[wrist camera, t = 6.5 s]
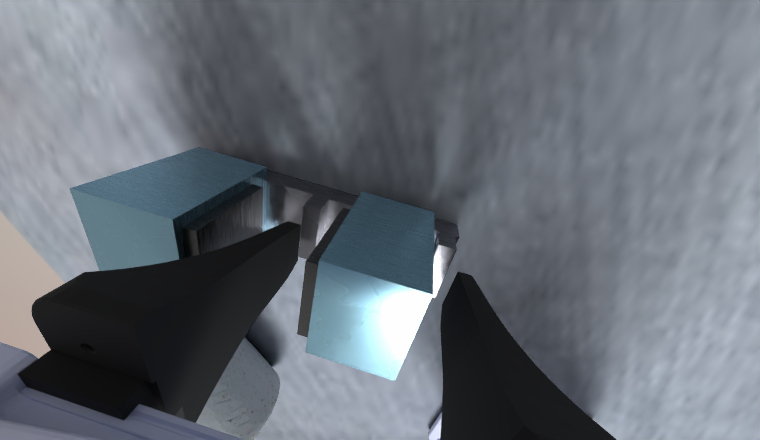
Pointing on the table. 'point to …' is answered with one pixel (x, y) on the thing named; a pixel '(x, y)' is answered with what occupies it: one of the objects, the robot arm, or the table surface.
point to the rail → (211, 211)
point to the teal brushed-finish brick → (369, 285)
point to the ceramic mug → (242, 395)
